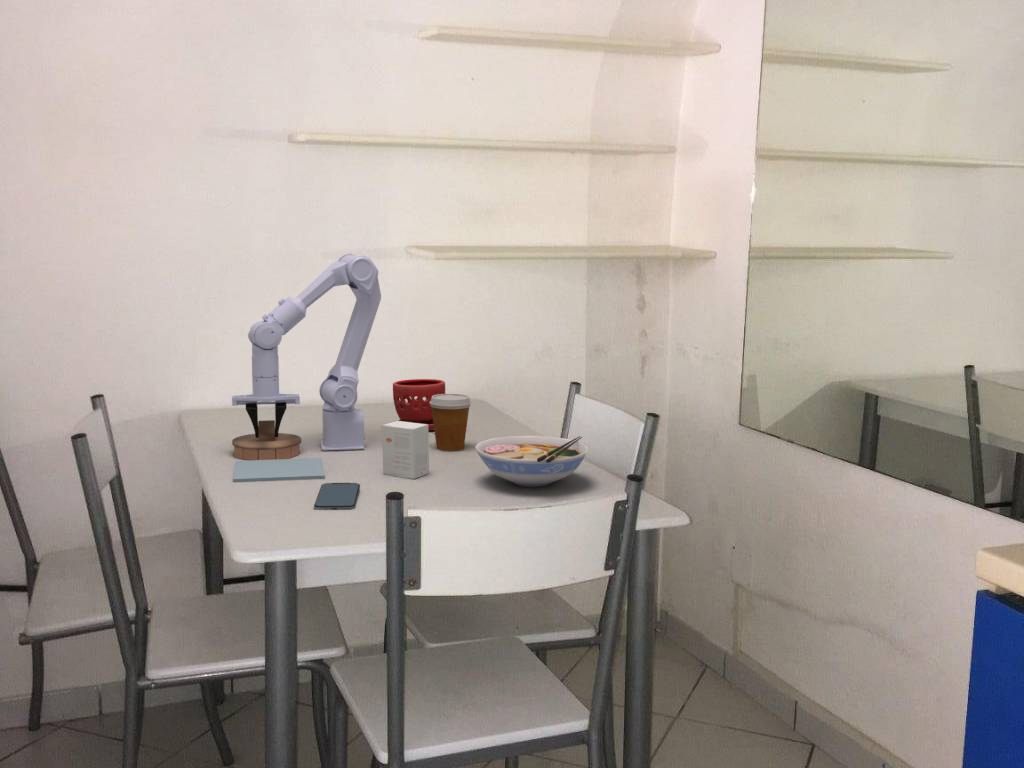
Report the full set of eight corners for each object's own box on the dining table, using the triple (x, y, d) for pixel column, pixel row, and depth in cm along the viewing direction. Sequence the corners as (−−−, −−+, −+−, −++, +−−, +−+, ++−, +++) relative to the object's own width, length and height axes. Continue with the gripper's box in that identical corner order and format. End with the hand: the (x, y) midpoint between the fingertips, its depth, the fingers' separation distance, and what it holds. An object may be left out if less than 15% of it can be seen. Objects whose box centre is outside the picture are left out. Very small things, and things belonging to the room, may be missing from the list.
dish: (298, 445, 245) (298, 434, 244) (300, 459, 231) (299, 448, 231) (235, 447, 242) (235, 436, 241) (233, 461, 228) (233, 450, 228)
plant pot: (447, 423, 273) (447, 377, 271) (442, 434, 260) (443, 385, 258) (396, 422, 273) (396, 376, 271) (389, 433, 260) (389, 384, 258)
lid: (300, 434, 245) (300, 414, 244) (302, 448, 230) (302, 427, 230) (233, 436, 242) (232, 416, 241) (230, 450, 227) (230, 429, 226)
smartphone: (312, 506, 192) (321, 482, 207) (313, 515, 192) (321, 490, 207) (355, 505, 192) (360, 482, 207) (355, 514, 193) (360, 490, 207)
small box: (429, 474, 220) (429, 424, 218) (413, 479, 215) (413, 428, 213) (398, 469, 224) (398, 420, 222) (382, 474, 219) (381, 424, 217)
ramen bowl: (501, 464, 230) (502, 426, 228) (603, 474, 221) (604, 436, 220) (453, 491, 207) (454, 450, 205) (565, 504, 198) (566, 461, 197)
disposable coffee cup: (428, 452, 239) (428, 400, 238) (430, 443, 249) (430, 393, 247) (470, 453, 240) (471, 400, 238) (471, 444, 249) (471, 393, 247)
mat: (321, 460, 230) (321, 457, 230) (325, 478, 215) (324, 475, 215) (235, 463, 226) (235, 460, 226) (233, 482, 211) (232, 479, 211)
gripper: (298, 372, 239) (299, 431, 241) (232, 373, 236) (233, 433, 238) (299, 377, 232) (300, 438, 234) (230, 378, 229) (232, 440, 231)
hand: (266, 436), depth 236 cm, fingers closed on lid, 3 cm apart
